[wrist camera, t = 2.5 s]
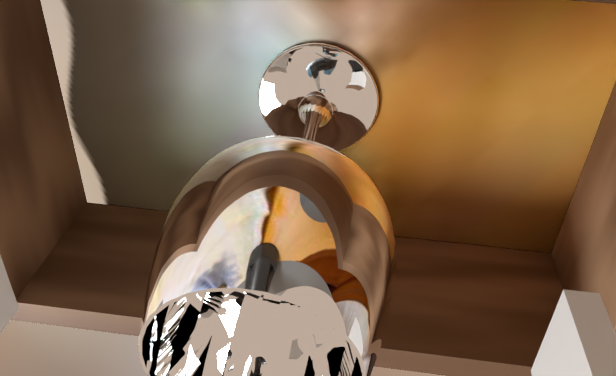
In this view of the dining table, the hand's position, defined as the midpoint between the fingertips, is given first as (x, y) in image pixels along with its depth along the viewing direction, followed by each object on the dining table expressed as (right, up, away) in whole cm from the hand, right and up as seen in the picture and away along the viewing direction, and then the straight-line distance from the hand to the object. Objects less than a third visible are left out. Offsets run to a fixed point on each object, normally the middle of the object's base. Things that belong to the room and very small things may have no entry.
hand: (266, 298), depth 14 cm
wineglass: (+1, +6, +8) cm, 10 cm away
